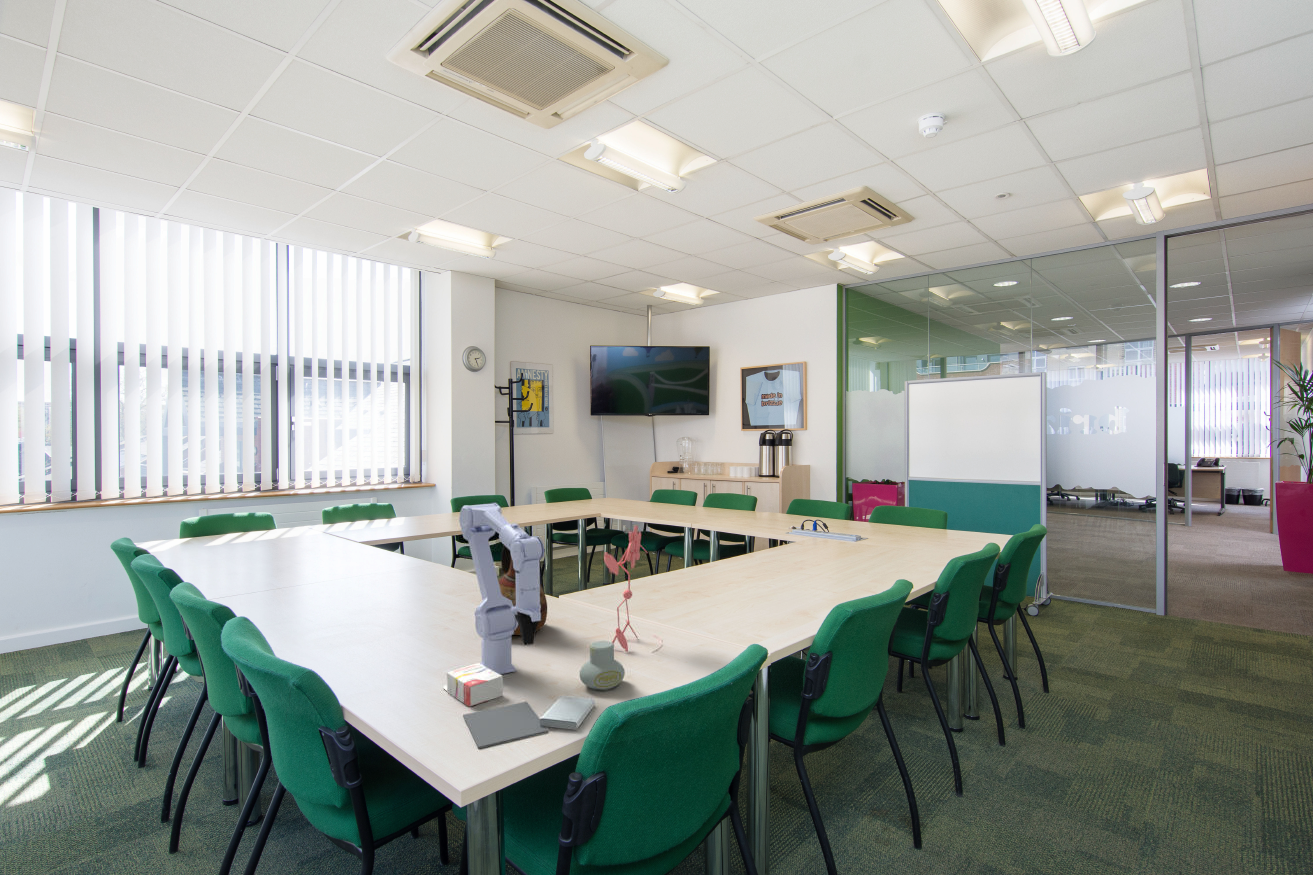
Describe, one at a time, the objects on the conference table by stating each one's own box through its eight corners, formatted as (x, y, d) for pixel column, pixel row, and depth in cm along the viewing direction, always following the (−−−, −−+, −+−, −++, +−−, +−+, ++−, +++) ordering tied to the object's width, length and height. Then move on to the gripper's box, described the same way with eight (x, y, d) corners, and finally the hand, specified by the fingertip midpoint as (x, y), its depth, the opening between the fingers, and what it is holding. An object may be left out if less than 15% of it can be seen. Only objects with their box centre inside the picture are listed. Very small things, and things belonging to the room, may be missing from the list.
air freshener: (585, 695, 142) (585, 652, 142) (575, 683, 149) (575, 642, 149) (629, 687, 146) (628, 646, 146) (617, 676, 154) (617, 636, 154)
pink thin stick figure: (596, 658, 166) (597, 530, 166) (624, 630, 191) (626, 519, 191) (650, 664, 162) (651, 533, 162) (672, 635, 187) (673, 521, 187)
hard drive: (577, 722, 124) (594, 697, 136) (539, 717, 126) (560, 694, 138) (576, 730, 124) (594, 705, 136) (539, 725, 126) (560, 701, 138)
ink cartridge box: (469, 685, 136) (440, 668, 147) (469, 707, 136) (440, 689, 147) (503, 674, 142) (472, 659, 153) (503, 695, 142) (473, 678, 153)
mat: (463, 716, 131) (463, 714, 131) (526, 702, 138) (526, 701, 138) (478, 748, 117) (478, 746, 117) (548, 732, 124) (548, 730, 124)
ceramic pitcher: (502, 645, 178) (501, 543, 179) (472, 630, 193) (472, 536, 194) (559, 631, 191) (558, 536, 192) (527, 618, 206) (526, 529, 207)
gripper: (503, 583, 152) (504, 638, 152) (519, 596, 139) (519, 655, 139) (531, 580, 155) (532, 633, 155) (549, 592, 143) (549, 650, 142)
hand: (528, 643), depth 147 cm, fingers closed
